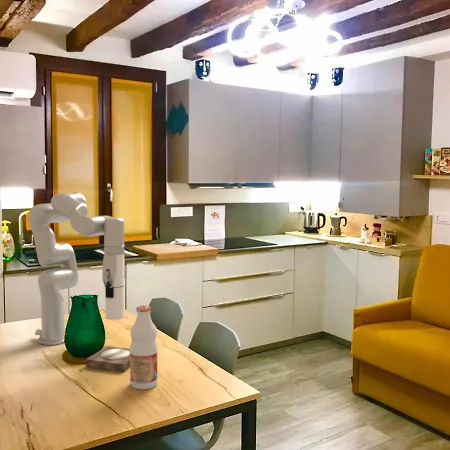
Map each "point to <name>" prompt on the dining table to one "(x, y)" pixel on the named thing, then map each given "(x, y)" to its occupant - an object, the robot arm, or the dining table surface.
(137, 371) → the fruit juice
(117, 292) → the cylindrical container
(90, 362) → the walnut plinth
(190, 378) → the dining table surface
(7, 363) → the dining table surface
